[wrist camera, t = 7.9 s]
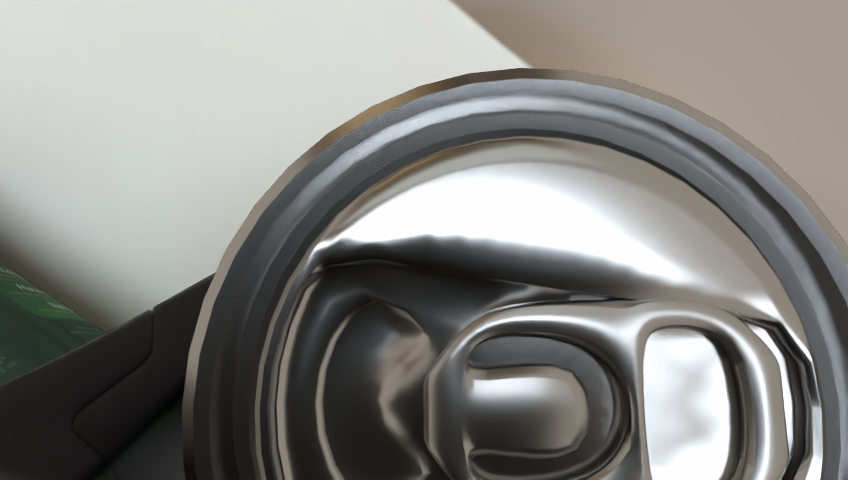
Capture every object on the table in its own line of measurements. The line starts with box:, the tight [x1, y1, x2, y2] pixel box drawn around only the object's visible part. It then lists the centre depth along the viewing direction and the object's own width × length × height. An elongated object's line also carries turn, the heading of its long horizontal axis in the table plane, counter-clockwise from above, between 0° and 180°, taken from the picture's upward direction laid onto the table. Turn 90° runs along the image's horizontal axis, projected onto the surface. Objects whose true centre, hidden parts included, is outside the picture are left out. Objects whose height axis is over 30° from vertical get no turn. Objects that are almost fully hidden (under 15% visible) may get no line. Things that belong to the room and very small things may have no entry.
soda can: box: [182, 68, 848, 480], centre depth 9 cm, size 5×5×12 cm
